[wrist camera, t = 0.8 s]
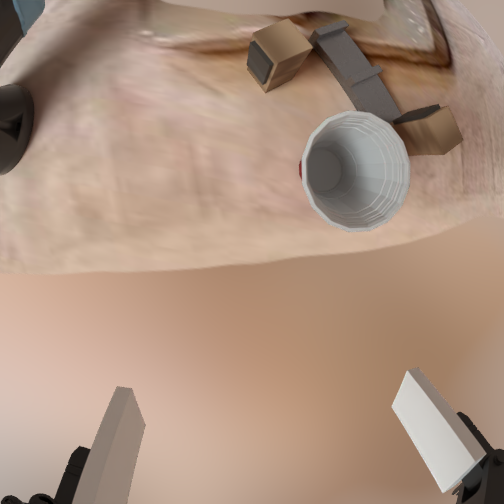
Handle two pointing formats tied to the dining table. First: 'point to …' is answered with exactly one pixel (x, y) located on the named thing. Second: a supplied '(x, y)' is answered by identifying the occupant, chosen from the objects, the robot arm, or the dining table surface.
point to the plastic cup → (355, 171)
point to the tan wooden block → (276, 54)
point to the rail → (354, 71)
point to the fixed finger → (428, 131)
